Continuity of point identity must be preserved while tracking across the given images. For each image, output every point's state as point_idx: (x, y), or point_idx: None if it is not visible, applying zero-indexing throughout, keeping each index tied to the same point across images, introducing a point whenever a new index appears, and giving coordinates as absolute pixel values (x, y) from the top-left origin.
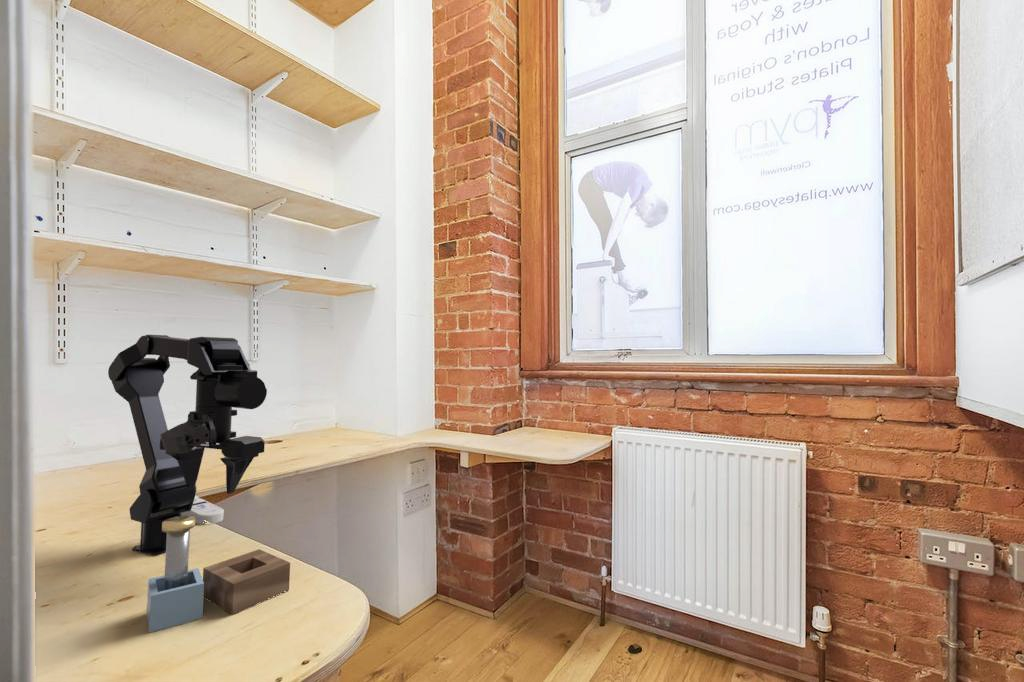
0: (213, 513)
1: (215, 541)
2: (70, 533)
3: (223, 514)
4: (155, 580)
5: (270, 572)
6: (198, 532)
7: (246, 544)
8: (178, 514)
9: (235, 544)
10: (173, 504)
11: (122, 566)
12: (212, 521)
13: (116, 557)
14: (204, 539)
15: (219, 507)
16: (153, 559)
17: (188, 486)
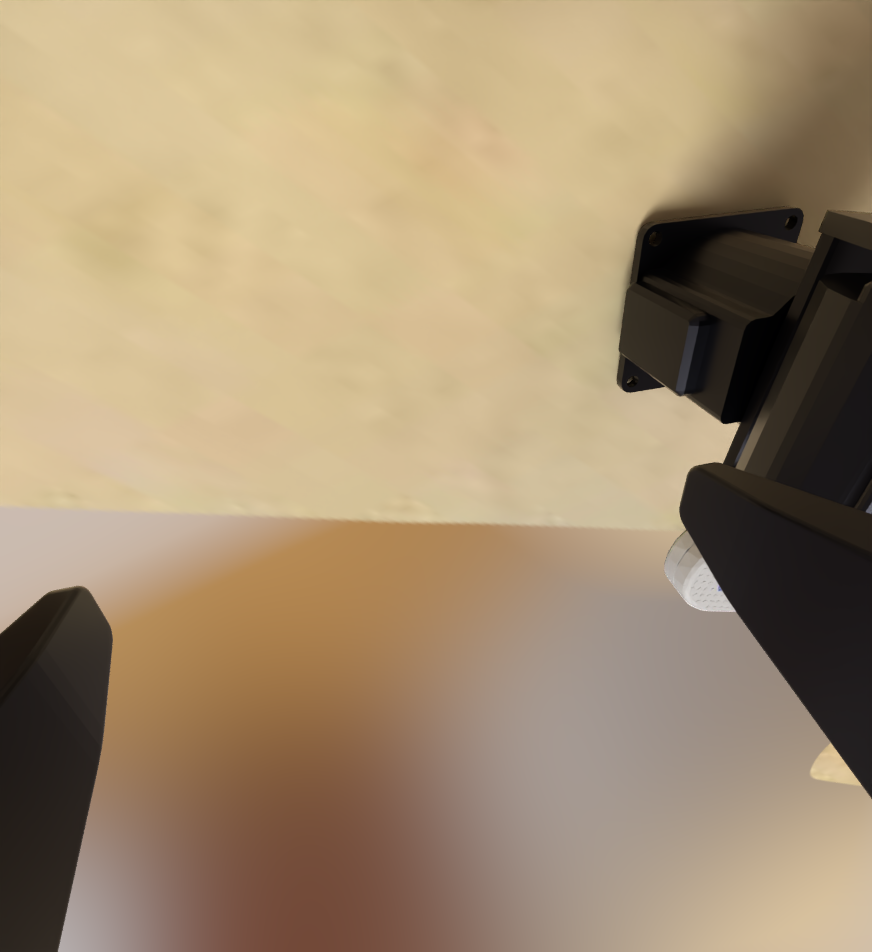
0: (702, 572)
1: (522, 456)
2: None
3: (679, 593)
4: None
5: None
6: (663, 472)
7: (371, 501)
8: (736, 414)
9: (415, 479)
10: (778, 386)
11: (701, 45)
12: (681, 547)
13: (810, 119)
14: (583, 445)
15: (723, 609)
16: (620, 191)
17: (714, 472)
